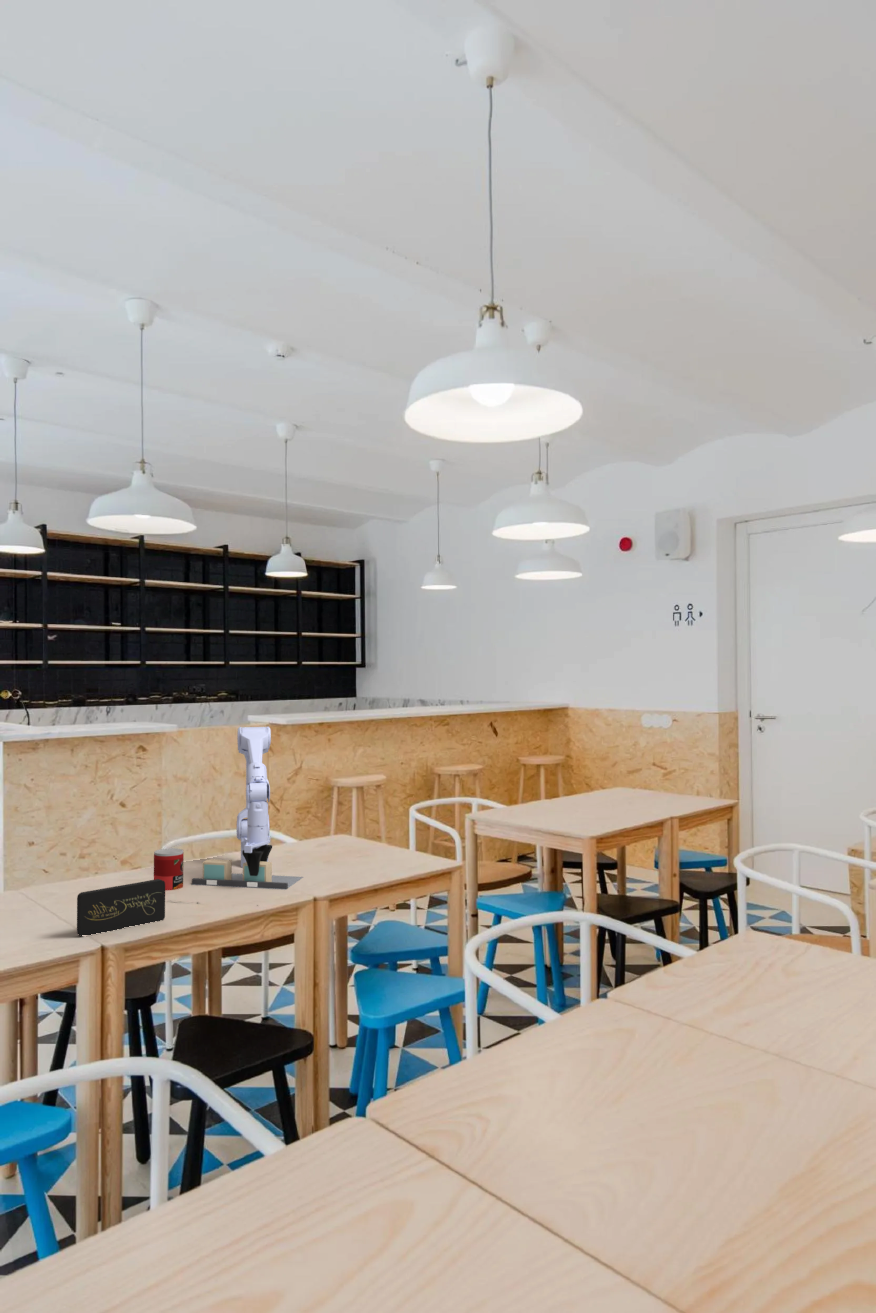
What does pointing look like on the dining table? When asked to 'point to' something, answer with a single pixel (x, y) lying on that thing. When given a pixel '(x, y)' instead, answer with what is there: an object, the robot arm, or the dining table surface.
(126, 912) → the nameplate
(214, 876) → the faced carton
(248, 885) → the shelf board
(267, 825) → the robot arm
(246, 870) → the carton
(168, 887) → the canned food
